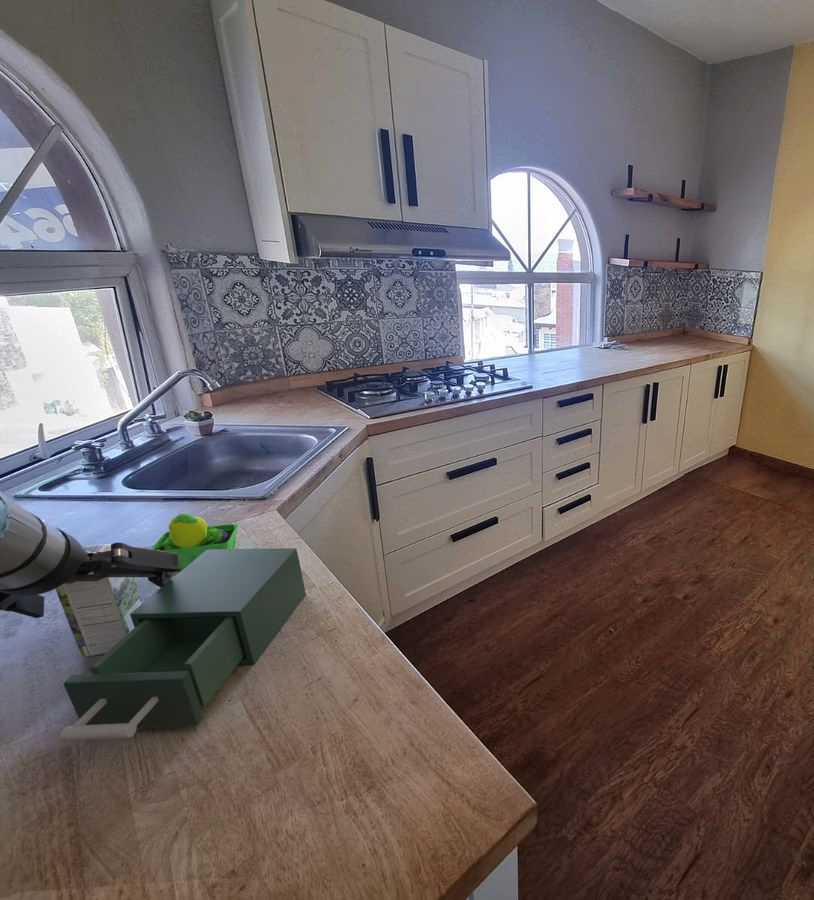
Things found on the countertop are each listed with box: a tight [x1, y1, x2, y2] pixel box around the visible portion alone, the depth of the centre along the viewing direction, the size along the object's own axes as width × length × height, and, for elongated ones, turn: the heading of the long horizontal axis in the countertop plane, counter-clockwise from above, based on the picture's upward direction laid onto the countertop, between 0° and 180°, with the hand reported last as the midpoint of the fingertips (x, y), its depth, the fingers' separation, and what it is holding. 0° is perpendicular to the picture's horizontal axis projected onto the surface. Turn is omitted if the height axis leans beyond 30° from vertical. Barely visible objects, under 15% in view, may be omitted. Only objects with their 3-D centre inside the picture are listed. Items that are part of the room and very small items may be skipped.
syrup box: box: [54, 543, 144, 658], centre depth 70 cm, size 6×6×14 cm
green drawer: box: [59, 616, 245, 742], centre depth 62 cm, size 19×12×7 cm, turn 5°
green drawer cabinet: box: [130, 547, 307, 666], centre depth 74 cm, size 16×14×9 cm
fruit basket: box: [150, 513, 239, 571], centre depth 89 cm, size 11×9×11 cm
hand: (106, 593), depth 71 cm, fingers open, 13 cm apart
